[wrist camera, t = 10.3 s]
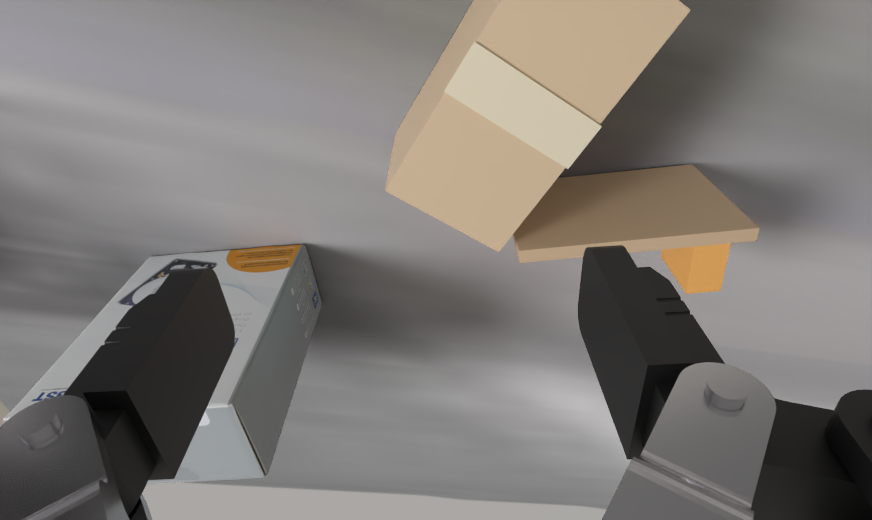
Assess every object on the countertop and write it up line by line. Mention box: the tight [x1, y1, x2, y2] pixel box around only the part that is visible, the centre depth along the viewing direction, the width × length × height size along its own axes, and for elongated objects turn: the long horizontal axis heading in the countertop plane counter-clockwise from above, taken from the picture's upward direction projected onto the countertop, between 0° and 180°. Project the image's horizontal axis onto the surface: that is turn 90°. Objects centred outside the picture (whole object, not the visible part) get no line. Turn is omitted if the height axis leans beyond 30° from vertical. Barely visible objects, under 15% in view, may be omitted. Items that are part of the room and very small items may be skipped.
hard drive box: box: [3, 244, 322, 484], centre depth 43 cm, size 16×8×20 cm, turn 96°
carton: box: [385, 0, 690, 252], centre depth 36 cm, size 9×18×11 cm, turn 149°
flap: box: [513, 164, 760, 294], centre depth 42 cm, size 5×16×11 cm, turn 96°
